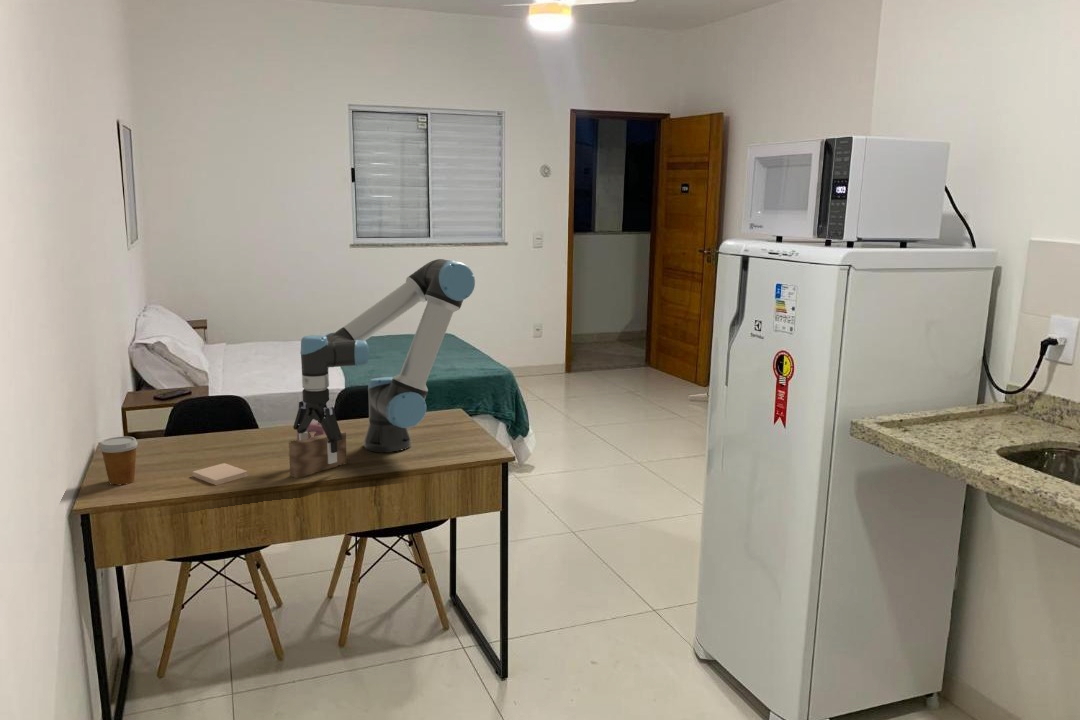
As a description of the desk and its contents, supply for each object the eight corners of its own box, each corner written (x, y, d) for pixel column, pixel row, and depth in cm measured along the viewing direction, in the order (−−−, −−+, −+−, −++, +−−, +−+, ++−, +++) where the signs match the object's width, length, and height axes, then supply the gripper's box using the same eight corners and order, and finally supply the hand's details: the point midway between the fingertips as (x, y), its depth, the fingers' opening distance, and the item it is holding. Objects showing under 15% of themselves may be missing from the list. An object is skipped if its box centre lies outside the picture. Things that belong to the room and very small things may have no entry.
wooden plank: (340, 461, 245) (339, 430, 243) (346, 463, 243) (345, 432, 241) (290, 476, 231) (288, 443, 229) (296, 478, 229) (295, 445, 227)
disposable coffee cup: (132, 487, 219) (128, 445, 217) (96, 487, 219) (92, 445, 216) (146, 475, 229) (143, 435, 226) (112, 476, 228) (108, 436, 226)
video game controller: (328, 443, 268) (327, 423, 270) (327, 441, 264) (327, 420, 266) (297, 444, 266) (297, 424, 268) (296, 442, 262) (296, 421, 264)
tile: (224, 463, 237) (192, 471, 229) (247, 471, 230) (215, 480, 222) (224, 469, 237) (193, 478, 229) (248, 477, 230) (216, 487, 222)
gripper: (279, 384, 237) (282, 452, 241) (331, 397, 222) (334, 469, 226) (300, 380, 243) (303, 447, 247) (353, 392, 228) (355, 463, 231)
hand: (318, 458), depth 236 cm, fingers open, 13 cm apart
